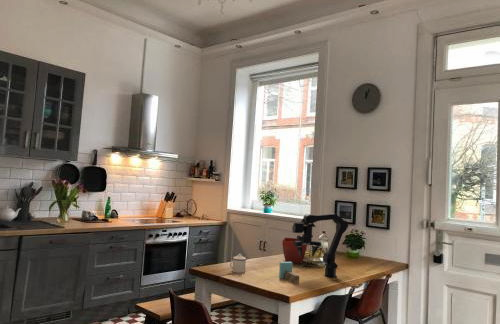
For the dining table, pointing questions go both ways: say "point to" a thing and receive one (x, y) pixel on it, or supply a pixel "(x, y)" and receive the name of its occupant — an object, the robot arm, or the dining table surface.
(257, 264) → the dining table surface
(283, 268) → the teal notched plate
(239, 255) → the teacup with lid
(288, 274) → the walnut rail
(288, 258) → the plant pot
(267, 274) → the dining table surface
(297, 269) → the dining table surface
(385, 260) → the dining table surface
